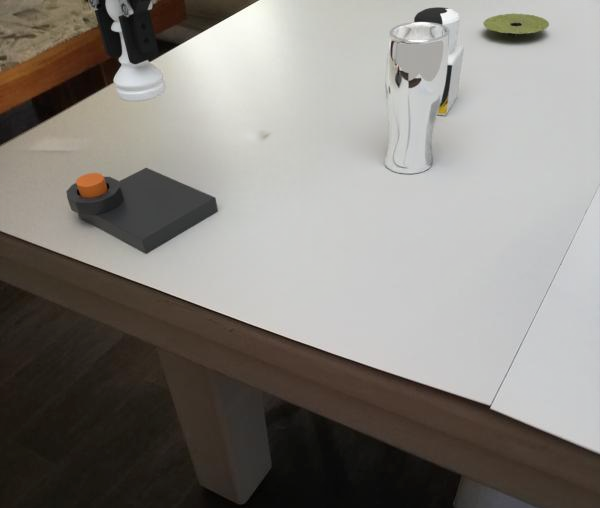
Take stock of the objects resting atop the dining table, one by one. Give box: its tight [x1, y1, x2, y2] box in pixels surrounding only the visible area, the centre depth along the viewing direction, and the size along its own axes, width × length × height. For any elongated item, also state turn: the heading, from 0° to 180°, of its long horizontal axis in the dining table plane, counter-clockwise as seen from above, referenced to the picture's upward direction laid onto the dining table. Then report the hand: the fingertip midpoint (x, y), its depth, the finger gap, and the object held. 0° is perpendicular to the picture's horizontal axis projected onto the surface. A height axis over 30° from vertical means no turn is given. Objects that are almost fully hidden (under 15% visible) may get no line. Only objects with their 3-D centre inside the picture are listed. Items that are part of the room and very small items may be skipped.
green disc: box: [482, 13, 550, 35], centre depth 105 cm, size 11×11×2 cm
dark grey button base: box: [66, 167, 219, 255], centre depth 69 cm, size 14×12×4 cm
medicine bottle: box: [413, 6, 465, 116], centre depth 83 cm, size 7×7×12 cm
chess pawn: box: [106, 0, 167, 103], centre depth 57 cm, size 5×5×9 cm
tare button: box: [75, 172, 108, 197], centre depth 68 cm, size 3×3×2 cm
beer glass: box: [384, 21, 450, 175], centre depth 70 cm, size 7×7×15 cm
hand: (132, 54), depth 58 cm, fingers closed on chess pawn, 2 cm apart
